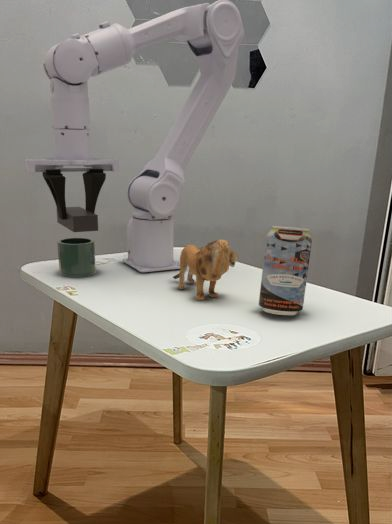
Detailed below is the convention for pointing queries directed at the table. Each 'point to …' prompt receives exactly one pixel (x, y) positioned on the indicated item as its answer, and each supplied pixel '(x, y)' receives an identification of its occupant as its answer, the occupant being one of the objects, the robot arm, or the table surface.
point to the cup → (76, 257)
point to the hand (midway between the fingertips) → (76, 218)
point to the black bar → (79, 220)
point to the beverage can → (285, 270)
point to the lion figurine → (206, 265)
